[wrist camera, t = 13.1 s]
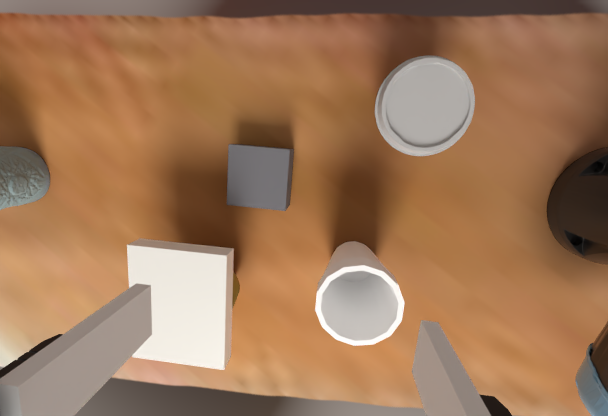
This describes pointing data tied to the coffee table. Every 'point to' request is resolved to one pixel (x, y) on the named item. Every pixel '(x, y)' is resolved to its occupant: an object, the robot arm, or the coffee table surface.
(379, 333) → the foam cup
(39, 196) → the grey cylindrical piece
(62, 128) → the coffee table surface
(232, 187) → the stand
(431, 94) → the disposable coffee cup
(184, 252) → the lid
